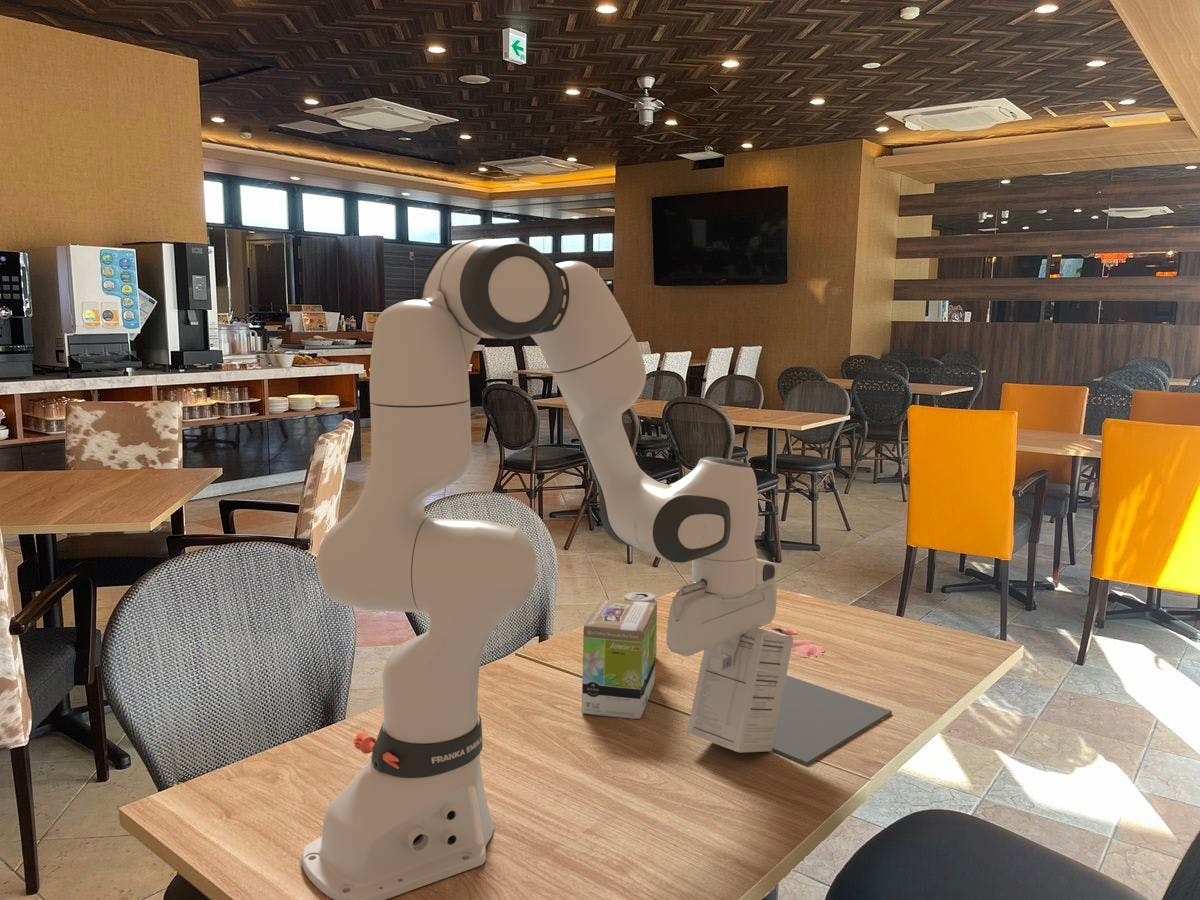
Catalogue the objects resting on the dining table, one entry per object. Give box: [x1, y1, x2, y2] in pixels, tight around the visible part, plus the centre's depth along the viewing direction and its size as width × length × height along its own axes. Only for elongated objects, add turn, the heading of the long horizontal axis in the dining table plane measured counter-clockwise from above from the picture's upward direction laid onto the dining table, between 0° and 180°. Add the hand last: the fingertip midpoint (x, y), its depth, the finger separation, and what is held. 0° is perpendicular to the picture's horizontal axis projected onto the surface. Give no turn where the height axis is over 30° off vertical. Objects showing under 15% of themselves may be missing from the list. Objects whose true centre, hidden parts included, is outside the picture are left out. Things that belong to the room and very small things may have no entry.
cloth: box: [766, 627, 825, 658], centre depth 174 cm, size 20×22×2 cm
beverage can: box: [623, 591, 658, 654], centre depth 164 cm, size 6×6×12 cm
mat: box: [771, 674, 893, 766], centre depth 140 cm, size 24×20×1 cm
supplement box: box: [686, 628, 793, 753], centre depth 129 cm, size 10×9×17 cm
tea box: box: [581, 598, 658, 720], centre depth 146 cm, size 15×10×15 cm
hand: (722, 667), depth 125 cm, fingers closed
